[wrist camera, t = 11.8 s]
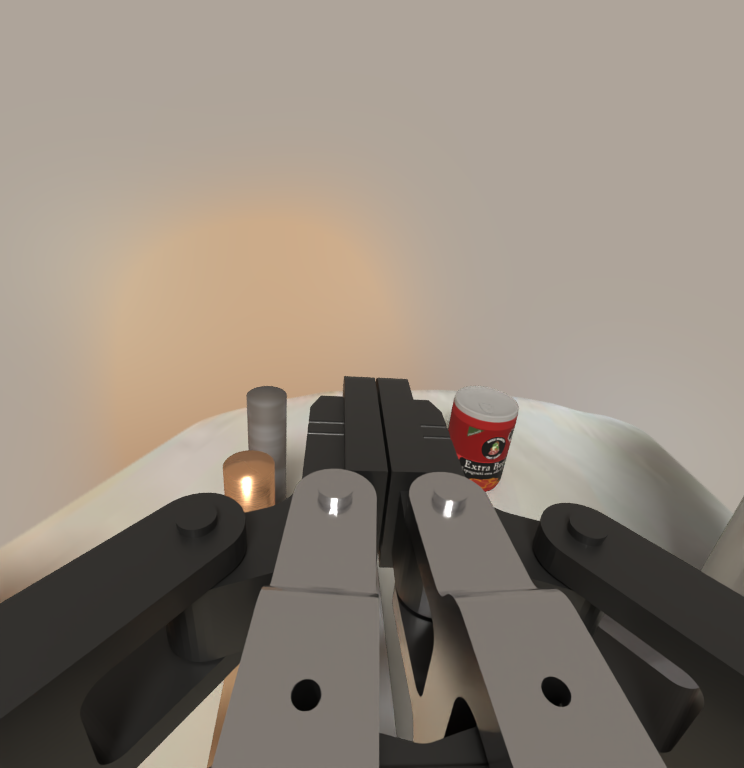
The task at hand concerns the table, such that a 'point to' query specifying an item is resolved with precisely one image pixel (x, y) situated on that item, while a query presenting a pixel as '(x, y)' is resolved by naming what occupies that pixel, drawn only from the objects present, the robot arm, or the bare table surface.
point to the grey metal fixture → (271, 438)
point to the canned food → (482, 432)
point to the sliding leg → (250, 479)
